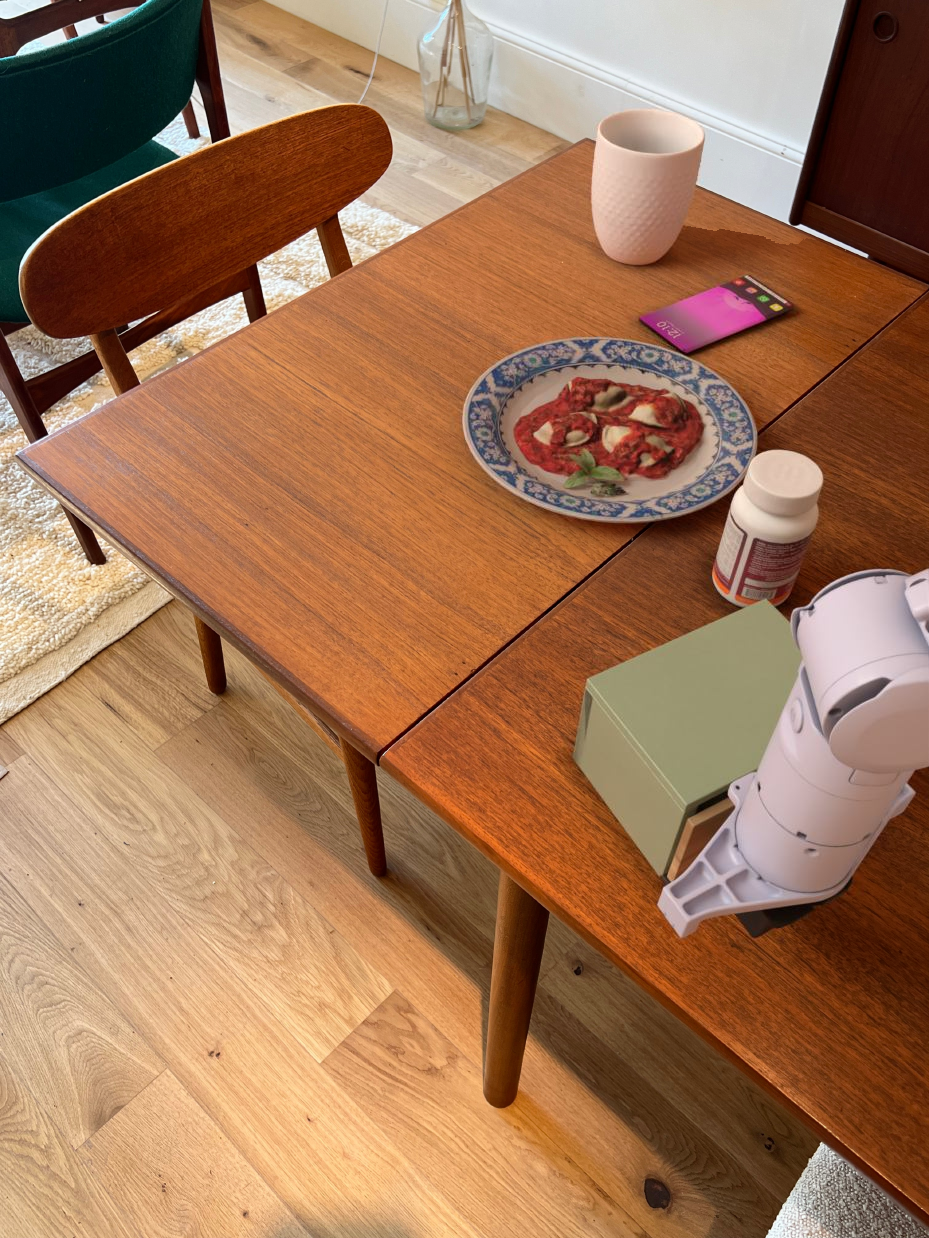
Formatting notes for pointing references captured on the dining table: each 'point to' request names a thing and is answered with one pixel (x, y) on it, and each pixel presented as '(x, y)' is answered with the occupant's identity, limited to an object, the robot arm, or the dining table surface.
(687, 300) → the smartphone
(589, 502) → the ceramic plate
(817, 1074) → the dining table surface
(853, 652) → the robot arm
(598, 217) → the mug
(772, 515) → the pill bottle
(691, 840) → the sliding door
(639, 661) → the cupboard
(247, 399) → the dining table surface
